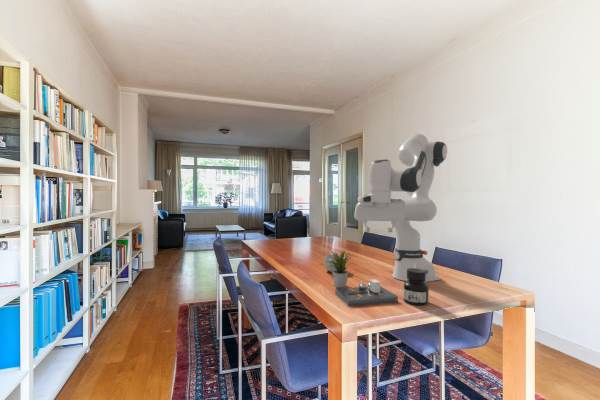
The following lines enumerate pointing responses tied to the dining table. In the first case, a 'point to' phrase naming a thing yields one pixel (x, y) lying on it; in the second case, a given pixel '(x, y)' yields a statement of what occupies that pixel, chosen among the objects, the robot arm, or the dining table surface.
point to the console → (365, 295)
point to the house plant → (339, 269)
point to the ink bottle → (416, 287)
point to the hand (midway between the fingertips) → (378, 231)
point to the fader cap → (374, 286)
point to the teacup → (328, 258)
